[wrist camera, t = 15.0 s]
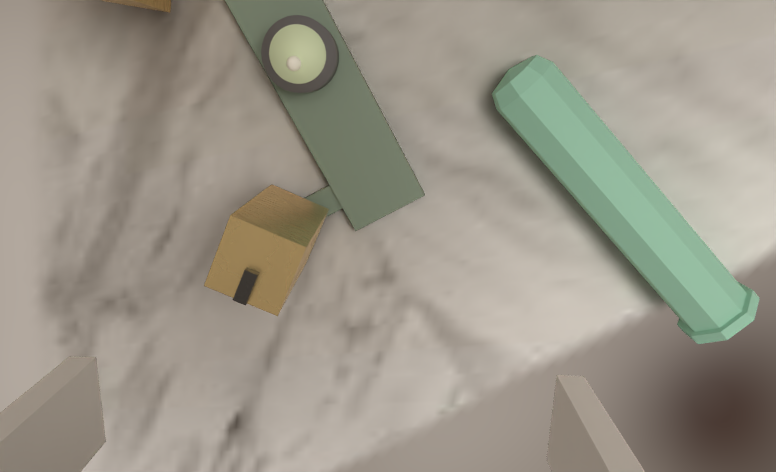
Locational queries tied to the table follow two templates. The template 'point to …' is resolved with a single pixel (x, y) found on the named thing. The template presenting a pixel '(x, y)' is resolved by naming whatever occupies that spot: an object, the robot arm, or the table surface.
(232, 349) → the table surface
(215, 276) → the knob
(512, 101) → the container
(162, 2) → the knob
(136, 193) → the table surface
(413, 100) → the table surface
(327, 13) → the base plate
